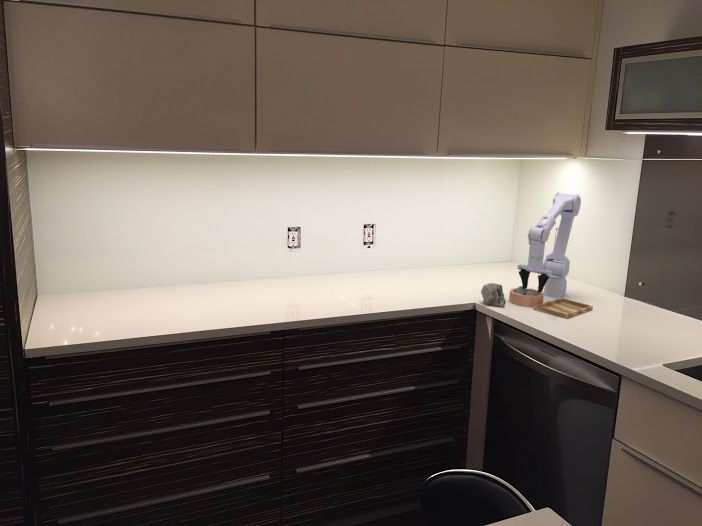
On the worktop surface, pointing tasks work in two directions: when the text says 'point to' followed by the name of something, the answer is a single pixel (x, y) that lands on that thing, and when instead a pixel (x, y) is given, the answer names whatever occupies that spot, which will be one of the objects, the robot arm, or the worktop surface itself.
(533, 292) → the pebble
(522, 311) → the worktop surface
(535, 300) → the bowl
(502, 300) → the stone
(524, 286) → the robot arm
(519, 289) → the pebble
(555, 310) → the tray
